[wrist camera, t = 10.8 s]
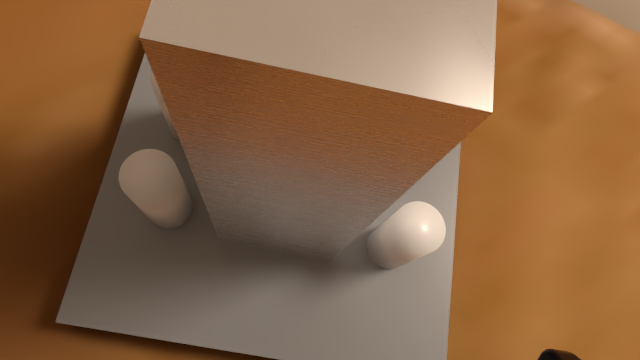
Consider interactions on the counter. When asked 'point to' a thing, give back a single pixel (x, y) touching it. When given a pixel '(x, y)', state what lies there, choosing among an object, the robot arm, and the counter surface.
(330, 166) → the white tall rectangular block
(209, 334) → the pin tray
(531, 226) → the counter surface
